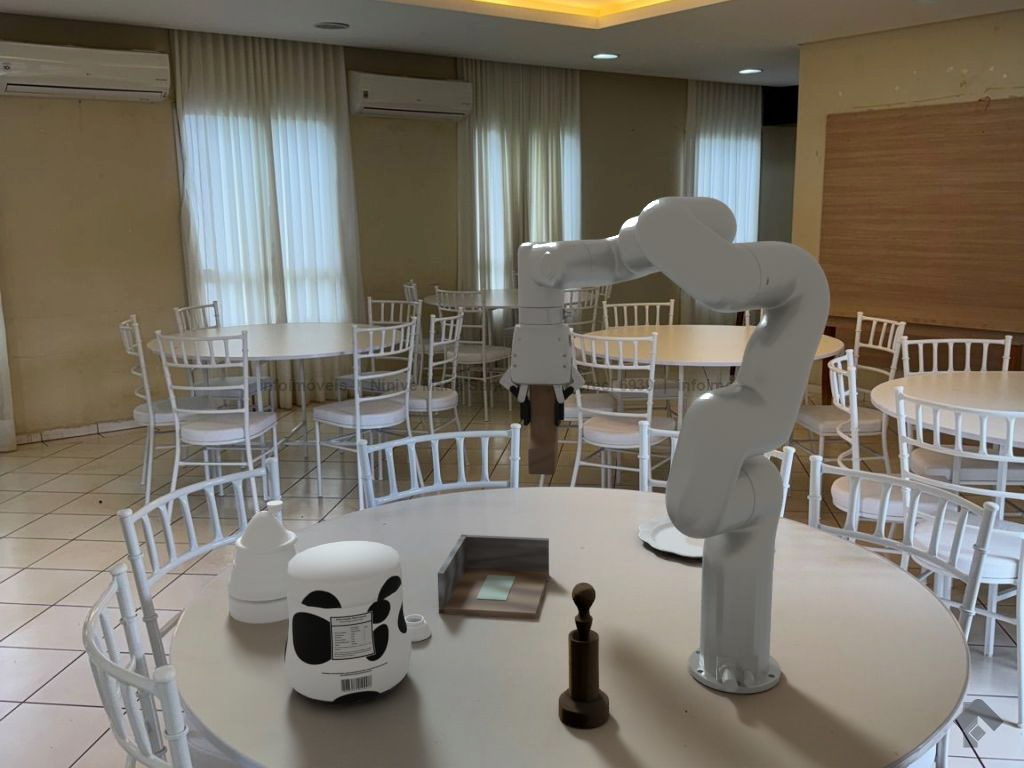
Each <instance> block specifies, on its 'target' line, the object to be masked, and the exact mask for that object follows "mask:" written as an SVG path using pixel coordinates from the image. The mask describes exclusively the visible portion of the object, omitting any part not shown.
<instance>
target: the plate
mask: <svg viewBox="0 0 1024 768" xmlns="http://www.w3.org/2000/svg"><path fill="white" fill-rule="evenodd" d="M638 531H639V533H638V538H639V539H640V541H641V542H644V543H645V544H648V545H649V546H650V547H651V548H653V549H655V550H657V551H660V552H663V553H667V554H671V555H673V556H677V557H683V558H688V559H695V560H702V557H703V546H697V545H694V544H691V543H688V542H687V539H688V538H689V537H688V536H685V535H684V534H682V533H681V532H679V531H678V530H677V529H676V528H675V527H674V525H673V524H672V522H671V520H670V518H669V516H668V514H665V515H658V516H655V517H652V518H651V519H649V521H646V522H643V523H641V524H640V525H639V526H638Z"/></svg>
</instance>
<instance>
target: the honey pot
mask: <svg viewBox="0 0 1024 768" xmlns="http://www.w3.org/2000/svg"><path fill="white" fill-rule="evenodd" d="M283 505H284V503H283V501H282V500H270V501H268V502H267V503H266V507H267V510H268V511H267V510H262V511H258V512H257V513H255V514H254V515H253V516H252V518H251V519H250V520H249V522H248V523H247V525H246V527H245V529H244V531H243V532H242V533H243V534H242V535H241V536H240V537H238V538H236V540H235V542H234V547H235V549H236V553H235V556H234V559H233V561H232V568H231V569H230V576H229V577H228V579H227V592H228V604H229V605H228V607H229V614H230V617H232V619H233V620H236V621H238V622H240V623H241V622H242V623H245V624H259V625H260V624H271V623H276V622H281V621H284V620H289V613H288V603H287V593H288V592H287V572H288V564H289V561H290V560H291V559H292V558H293V557H294V556H295V555H296V554H298V553H299V552H298V551H297V550H296V548H295V544H297V541H298V536H297V534H296V533H295V532H294V531H291V530H287V529H286V528H285V526H284V524H283V523H282V522H281V521H280V520H279V518H277V517H276V516H275V515H278V514H279V513H281V511H282V509H283Z"/></svg>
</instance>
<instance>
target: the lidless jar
mask: <svg viewBox="0 0 1024 768" xmlns="http://www.w3.org/2000/svg"><path fill="white" fill-rule="evenodd" d="M404 618H405V621H406V624H407V627H408V630H409V634H410V638H411V643H412V642H413V643H416V642H421V641H424V640H425V639H428V638H429V637H430V636H431V635H432V630H431V629H430V627H429V625H428V623H427V621H426V620H425V617H424V616H423V615H421V614H417V613H415V614H408V615H407V616H404Z"/></svg>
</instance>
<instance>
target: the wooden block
mask: <svg viewBox="0 0 1024 768" xmlns="http://www.w3.org/2000/svg"><path fill="white" fill-rule="evenodd" d="M556 398H557V397H556V393H555V389H554V386H553V385H530V388H529V400H530V423H529V443H528V448H527V465H528V466H527V467H528V469H527V471H528V474H529V475H542V476H543V475H547V476H548V475H550V476H552V475H555V474H556V471H557V465H558V461H559V426H555V425H554V404H555V402H556Z"/></svg>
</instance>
